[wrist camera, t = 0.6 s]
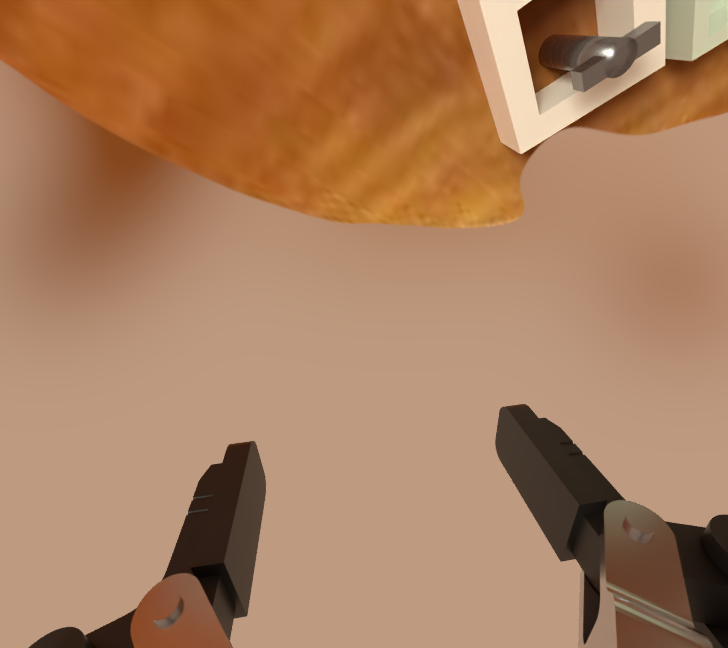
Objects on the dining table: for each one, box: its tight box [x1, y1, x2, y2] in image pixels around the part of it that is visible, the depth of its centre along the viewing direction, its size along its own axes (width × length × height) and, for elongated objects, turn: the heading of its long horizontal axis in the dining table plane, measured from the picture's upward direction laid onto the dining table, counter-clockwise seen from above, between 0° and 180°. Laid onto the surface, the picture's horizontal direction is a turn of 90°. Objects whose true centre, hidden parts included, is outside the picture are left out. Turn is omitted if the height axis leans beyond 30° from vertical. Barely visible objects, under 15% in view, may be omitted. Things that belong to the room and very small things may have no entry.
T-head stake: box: [539, 21, 661, 92], centre depth 24 cm, size 2×5×8 cm, turn 122°
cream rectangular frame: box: [457, 0, 666, 154], centre depth 24 cm, size 15×11×4 cm
